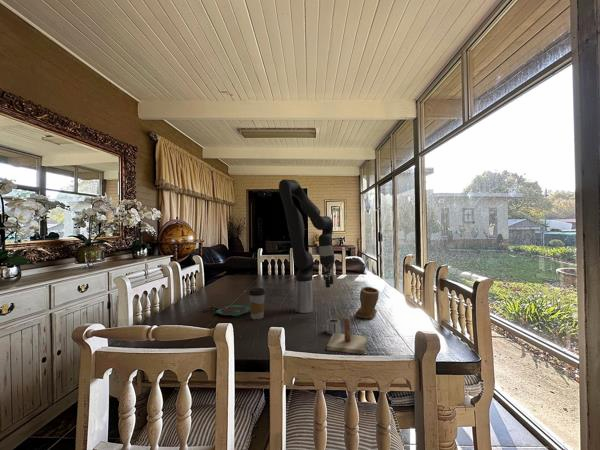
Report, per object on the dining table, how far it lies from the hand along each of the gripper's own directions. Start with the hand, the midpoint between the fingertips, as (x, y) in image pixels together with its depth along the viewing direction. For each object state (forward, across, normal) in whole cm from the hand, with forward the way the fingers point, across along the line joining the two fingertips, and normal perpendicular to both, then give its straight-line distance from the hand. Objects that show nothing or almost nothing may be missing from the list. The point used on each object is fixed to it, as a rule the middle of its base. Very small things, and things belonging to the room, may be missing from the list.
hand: (329, 285), depth 149 cm
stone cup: (+18, -8, +17) cm, 26 cm away
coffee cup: (+14, +10, -38) cm, 42 cm away
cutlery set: (+12, +2, -60) cm, 61 cm away
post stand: (+18, +32, +12) cm, 38 cm away
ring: (+17, +20, +4) cm, 26 cm away
